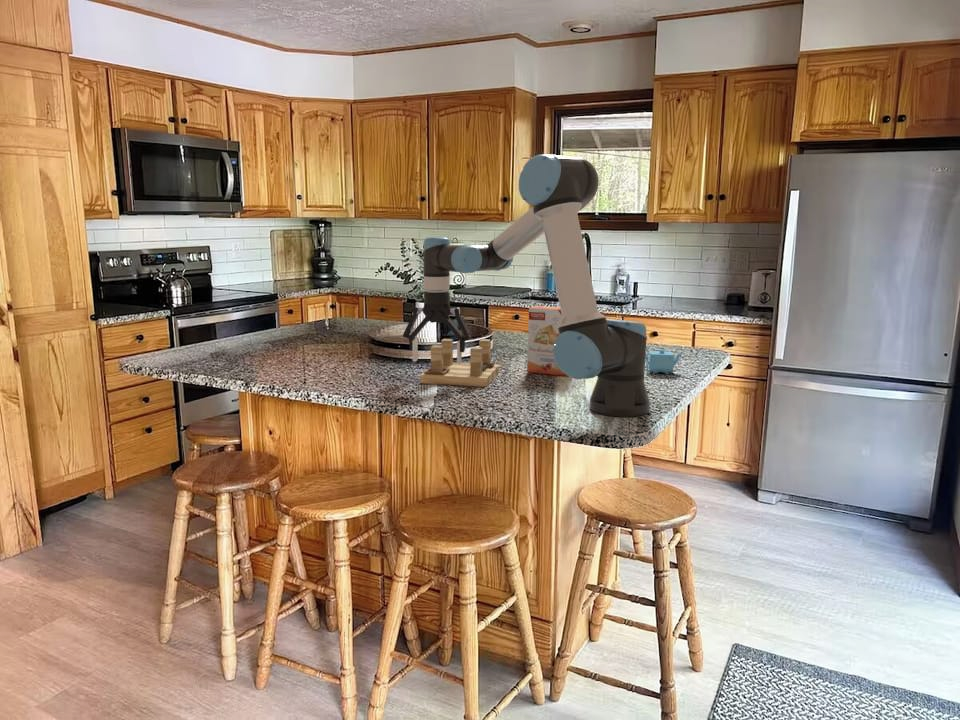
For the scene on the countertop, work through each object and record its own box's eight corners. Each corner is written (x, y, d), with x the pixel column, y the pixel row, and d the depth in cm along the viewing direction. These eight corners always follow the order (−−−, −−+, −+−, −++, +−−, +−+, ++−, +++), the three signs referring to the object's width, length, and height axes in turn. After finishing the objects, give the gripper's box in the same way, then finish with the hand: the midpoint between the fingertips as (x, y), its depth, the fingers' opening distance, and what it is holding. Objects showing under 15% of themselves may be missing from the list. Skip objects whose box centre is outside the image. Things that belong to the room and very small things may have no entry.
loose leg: (440, 373, 212) (440, 347, 210) (430, 373, 212) (430, 347, 211) (443, 371, 215) (443, 345, 213) (433, 371, 215) (433, 345, 214)
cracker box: (526, 373, 226) (527, 307, 222) (532, 369, 231) (533, 305, 227) (569, 377, 221) (571, 309, 216) (574, 373, 226) (576, 307, 222)
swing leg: (483, 371, 213) (483, 345, 212) (473, 371, 214) (473, 344, 212) (490, 364, 224) (490, 339, 222) (481, 364, 224) (481, 339, 223)
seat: (486, 386, 207) (487, 351, 205) (420, 383, 211) (420, 348, 209) (499, 372, 226) (499, 339, 224) (438, 369, 230) (438, 337, 228)
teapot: (682, 371, 229) (683, 348, 228) (683, 375, 224) (685, 352, 222) (643, 370, 232) (645, 347, 230) (644, 374, 226) (645, 350, 224)
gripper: (481, 290, 210) (480, 361, 214) (399, 288, 215) (400, 357, 219) (475, 293, 203) (475, 366, 207) (391, 290, 208) (393, 362, 212)
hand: (437, 362), depth 213 cm, fingers open, 13 cm apart
